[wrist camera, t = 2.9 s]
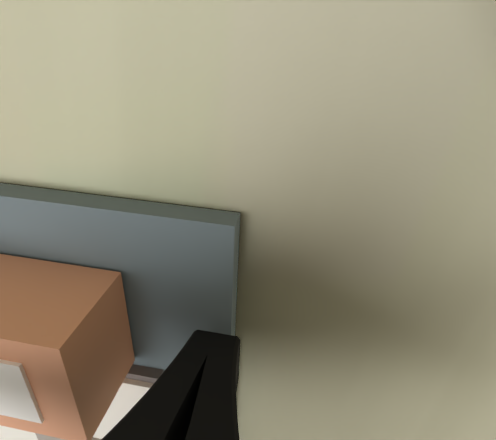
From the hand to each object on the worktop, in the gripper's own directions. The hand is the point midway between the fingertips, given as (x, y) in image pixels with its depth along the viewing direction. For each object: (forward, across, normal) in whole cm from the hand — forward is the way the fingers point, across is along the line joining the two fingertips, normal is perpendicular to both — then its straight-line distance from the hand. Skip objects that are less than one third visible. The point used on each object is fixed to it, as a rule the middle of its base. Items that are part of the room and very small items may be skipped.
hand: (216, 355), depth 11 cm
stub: (+2, +6, 0) cm, 7 cm away
